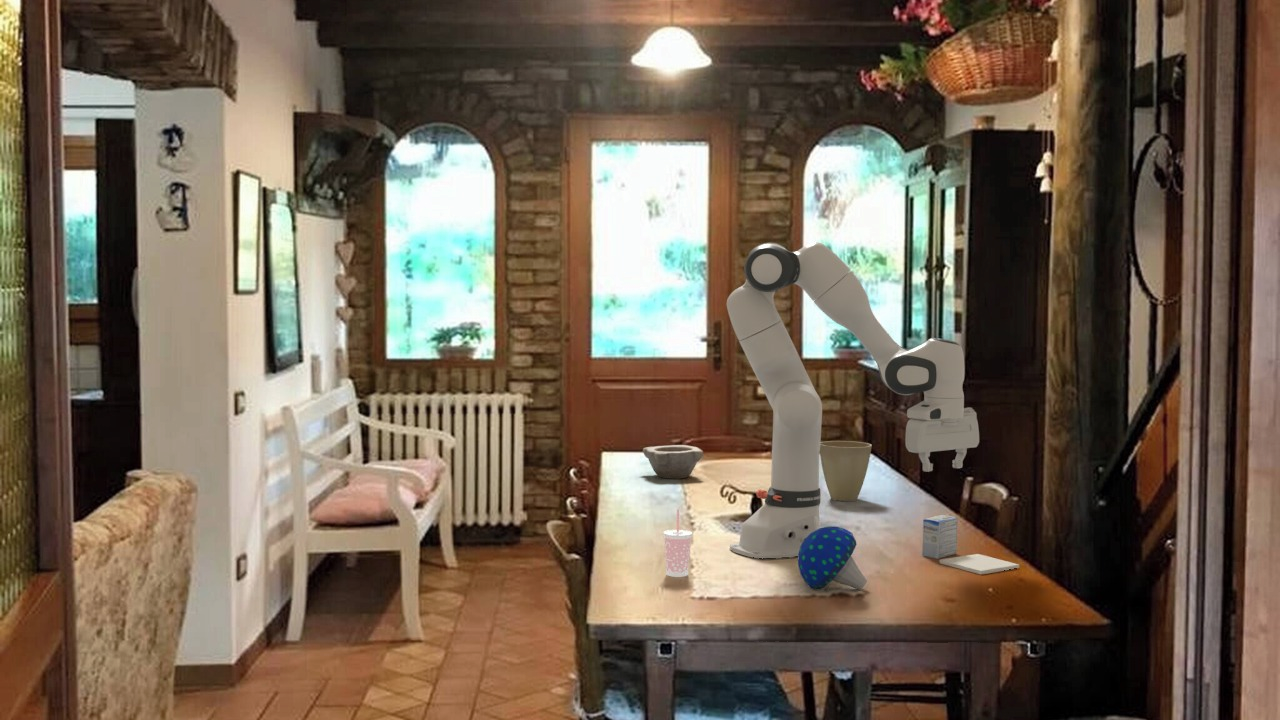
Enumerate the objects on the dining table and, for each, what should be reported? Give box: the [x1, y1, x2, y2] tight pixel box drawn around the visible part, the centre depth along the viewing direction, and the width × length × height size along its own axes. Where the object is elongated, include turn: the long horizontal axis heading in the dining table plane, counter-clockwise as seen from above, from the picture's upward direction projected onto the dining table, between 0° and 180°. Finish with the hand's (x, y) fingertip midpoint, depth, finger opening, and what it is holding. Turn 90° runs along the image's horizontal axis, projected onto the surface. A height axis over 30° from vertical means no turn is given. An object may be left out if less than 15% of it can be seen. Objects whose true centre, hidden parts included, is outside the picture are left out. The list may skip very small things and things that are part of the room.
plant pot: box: [819, 440, 873, 502], centre depth 353 cm, size 15×15×16 cm
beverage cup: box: [663, 508, 693, 578], centre depth 262 cm, size 6×6×14 cm
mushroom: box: [797, 525, 868, 591], centre depth 252 cm, size 14×14×15 cm
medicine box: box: [921, 514, 959, 560], centre depth 283 cm, size 8×4×9 cm, turn 134°
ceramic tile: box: [939, 553, 1020, 575], centre depth 274 cm, size 12×12×1 cm
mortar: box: [642, 444, 704, 480], centre depth 389 cm, size 17×17×9 cm
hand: (942, 469), depth 282 cm, fingers open, 8 cm apart
